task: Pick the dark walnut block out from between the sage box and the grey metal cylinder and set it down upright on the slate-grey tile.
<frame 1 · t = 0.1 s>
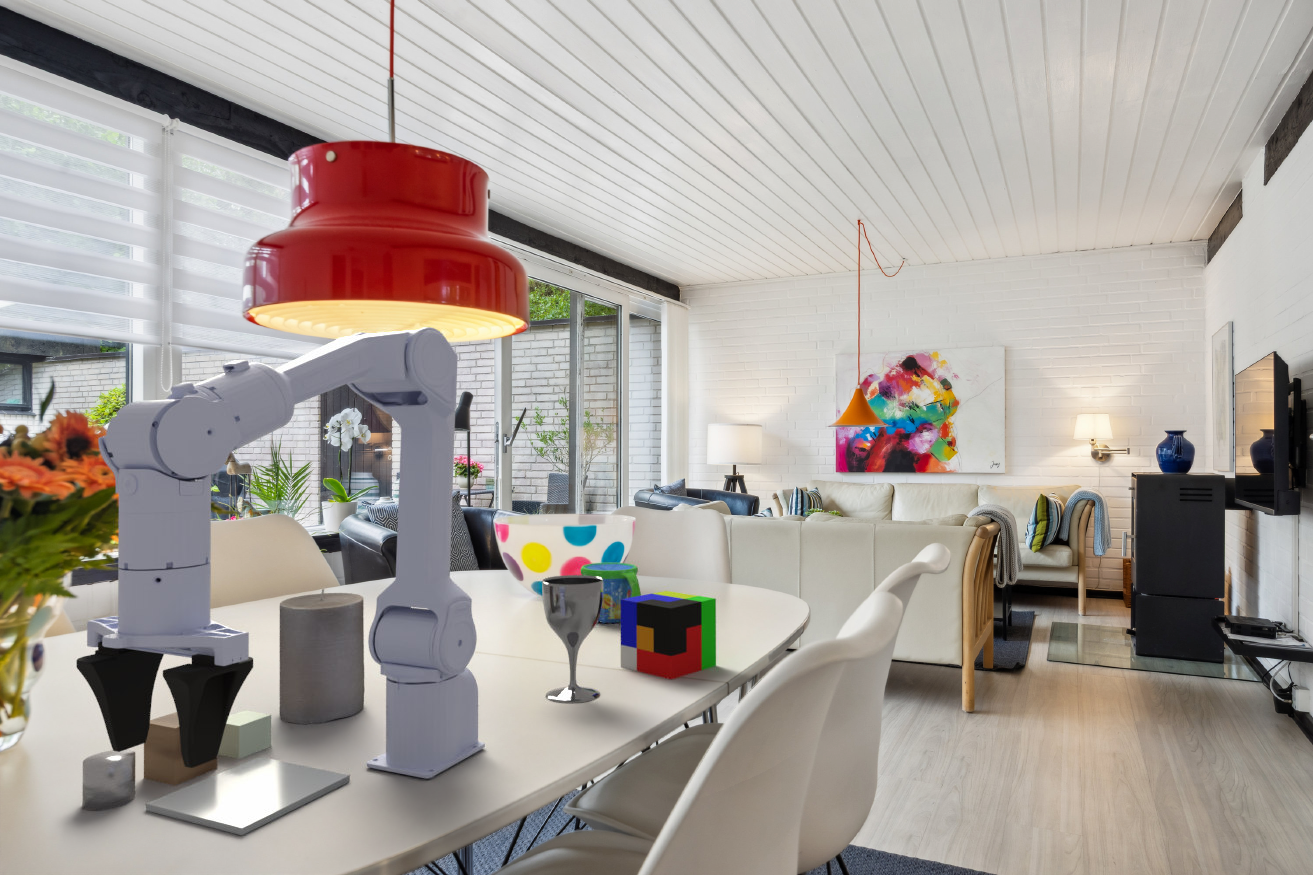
hand: (164, 754, 59), 10 cm above the table, tool pointing down, fingers open, 7 cm apart
wine glass: (573, 696, 106), on the table
puzzle toy: (668, 667, 120), on the table
walnut block: (180, 773, 81), on the table
sage box: (242, 750, 87), on the table
grey cylinder: (109, 801, 74), on the table
snack cup: (609, 621, 153), on the table
pillar candle: (322, 713, 100), on the table
slate tile: (251, 795, 75), on the table
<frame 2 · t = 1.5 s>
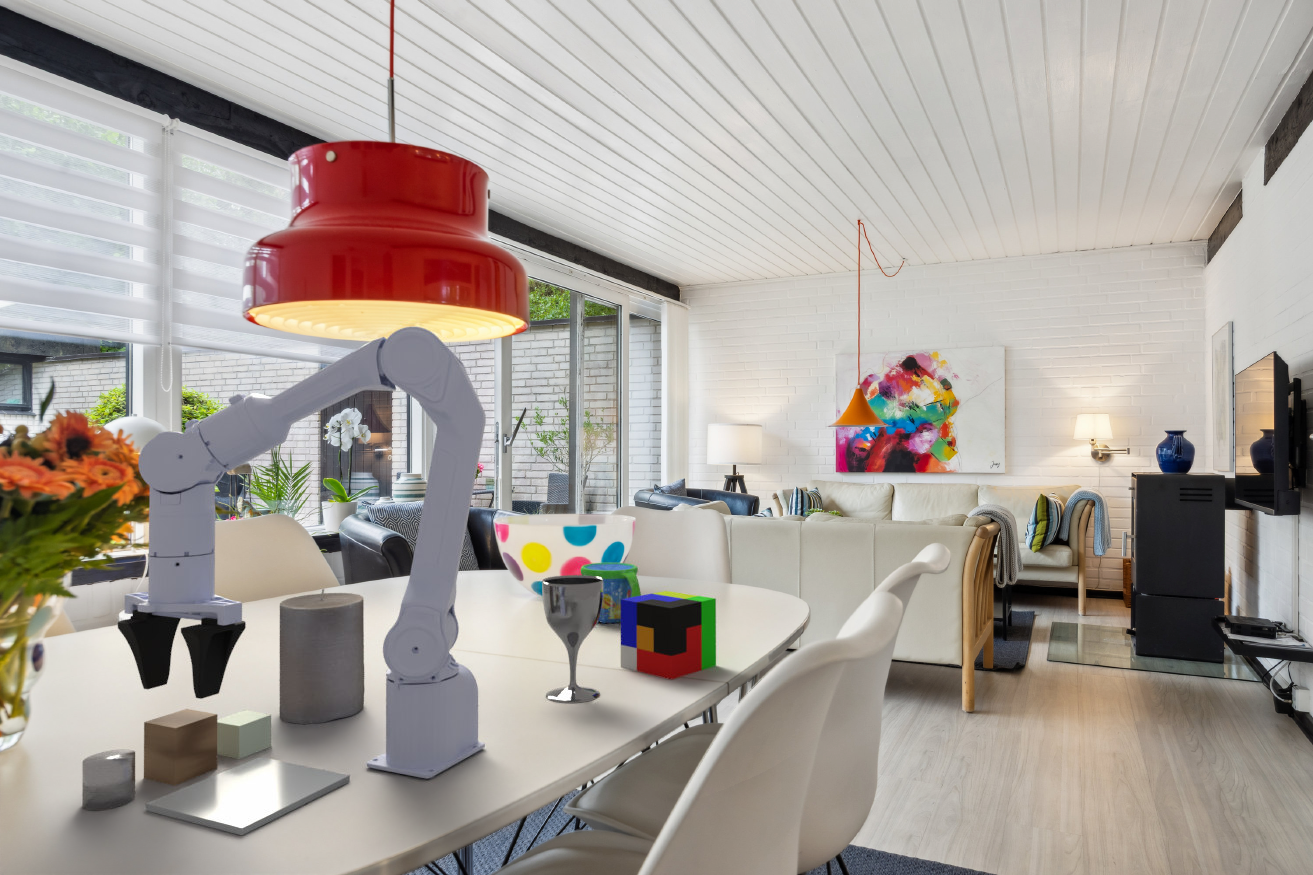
hand: (181, 690, 81), 8 cm above the table, tool pointing down, fingers open, 7 cm apart
nothing on the table moved.
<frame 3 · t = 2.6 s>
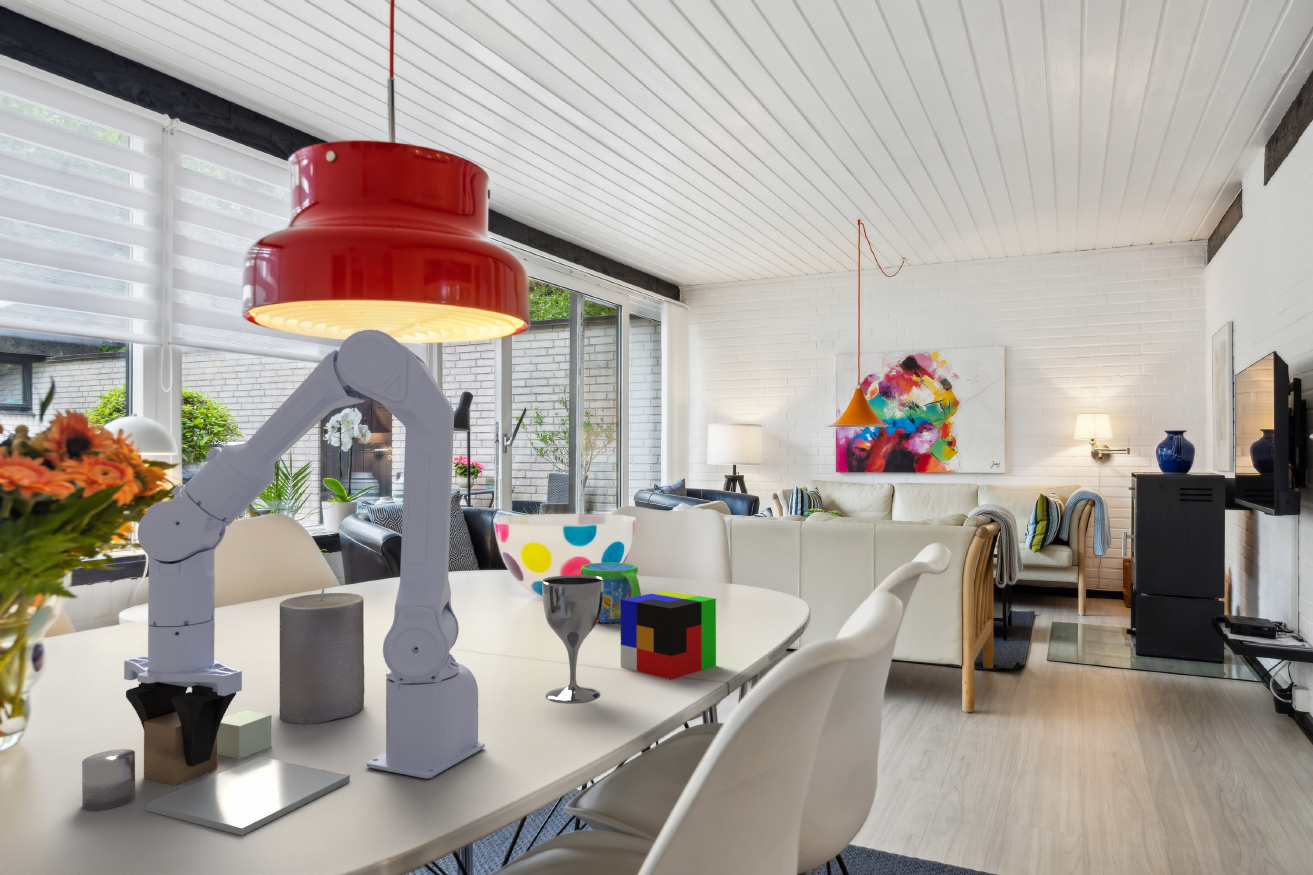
hand: (180, 758, 81), 1 cm above the table, tool pointing down, fingers closed on walnut block, 4 cm apart
walnut block: (180, 773, 81), on the table, touching gripper
everything else where it was.
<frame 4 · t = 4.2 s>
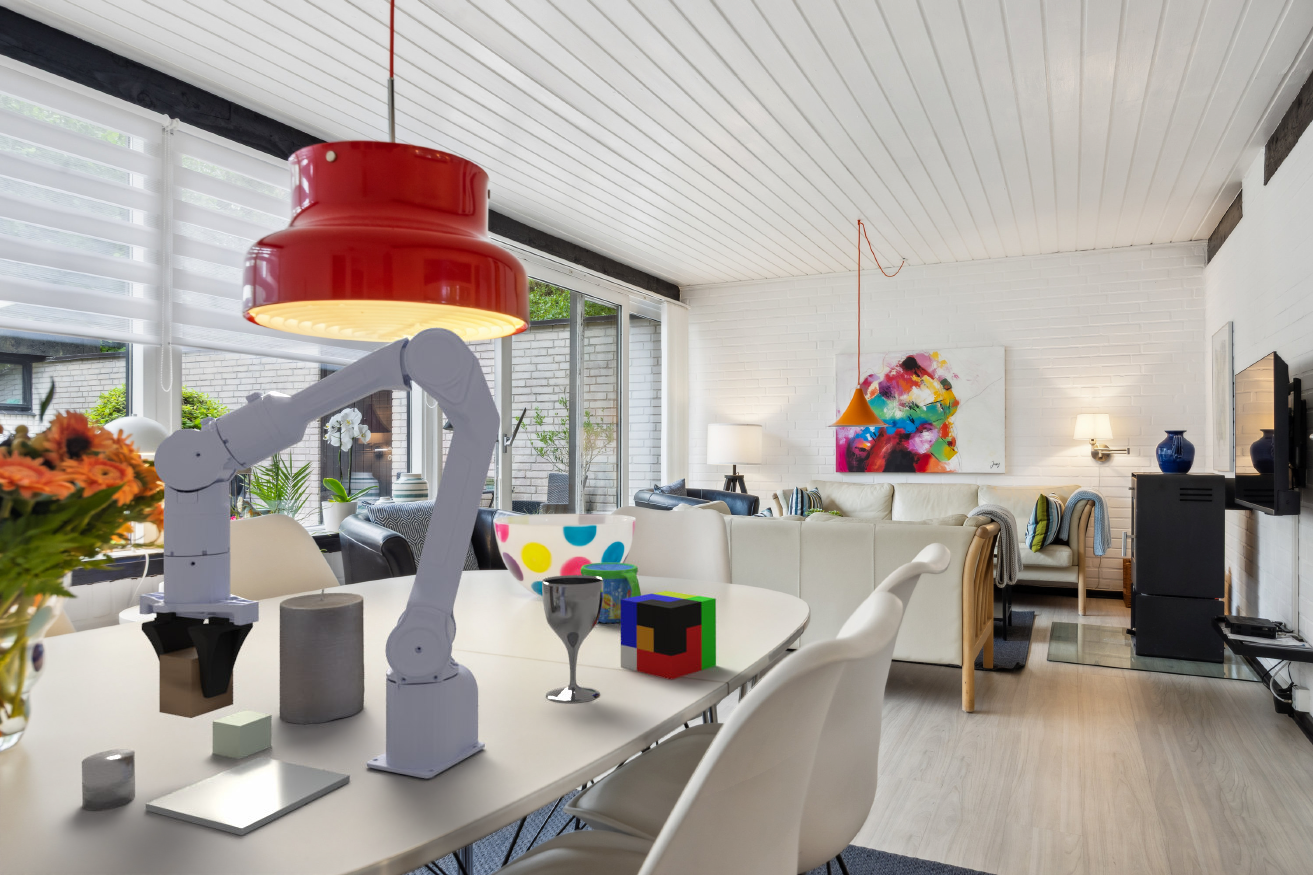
hand: (197, 692, 80), 8 cm above the table, tool pointing down, fingers closed on walnut block, 4 cm apart
walnut block: (196, 708, 80), point 7 cm above the table, touching gripper
everything else where it was.
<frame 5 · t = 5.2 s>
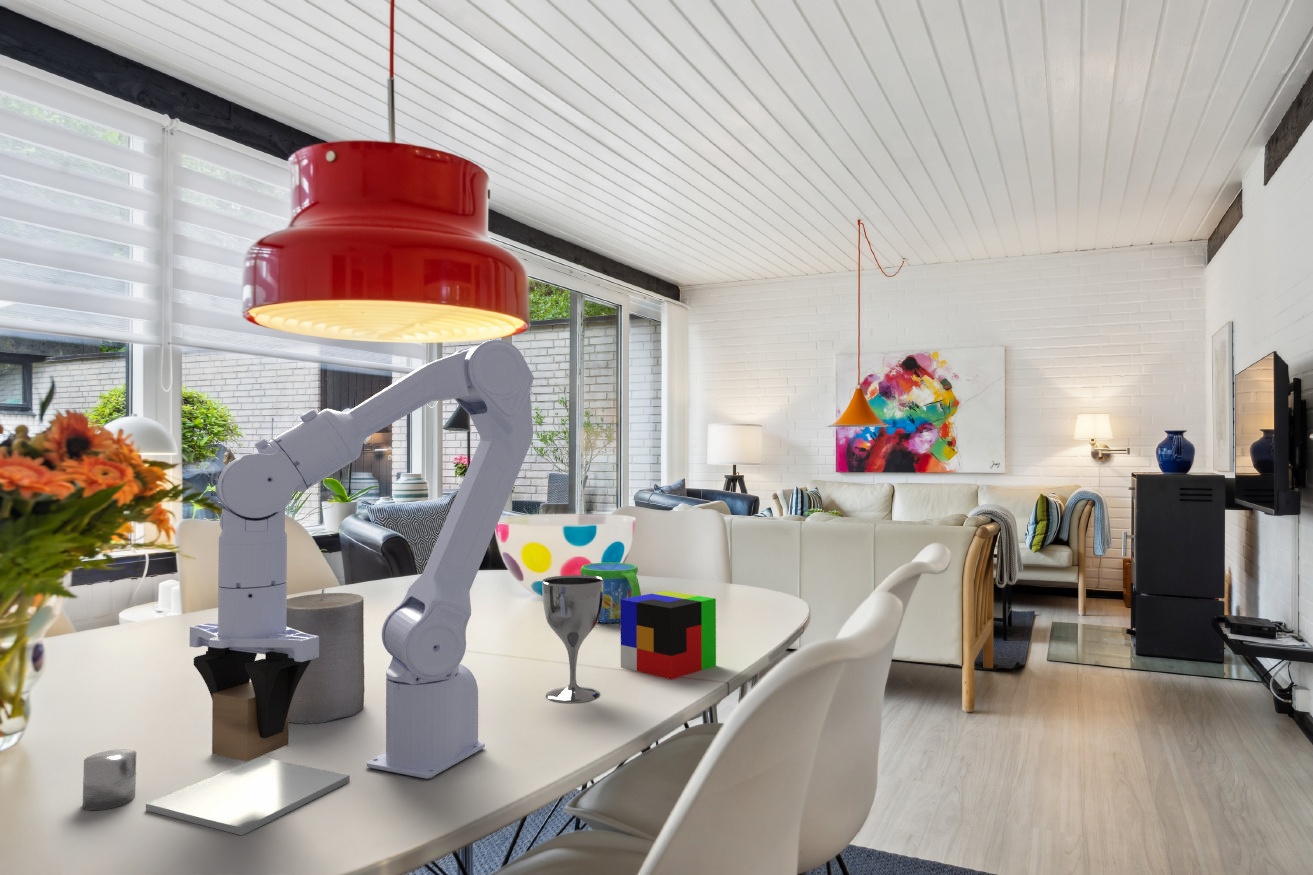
hand: (251, 730, 76), 6 cm above the table, tool pointing down, fingers closed on walnut block, 4 cm apart
walnut block: (250, 749, 75), point 4 cm above the table, touching gripper
everything else where it was.
when the fingers open (4 cm above the table, at t = 6.1 s): walnut block drops 1 cm, resting on slate tile.
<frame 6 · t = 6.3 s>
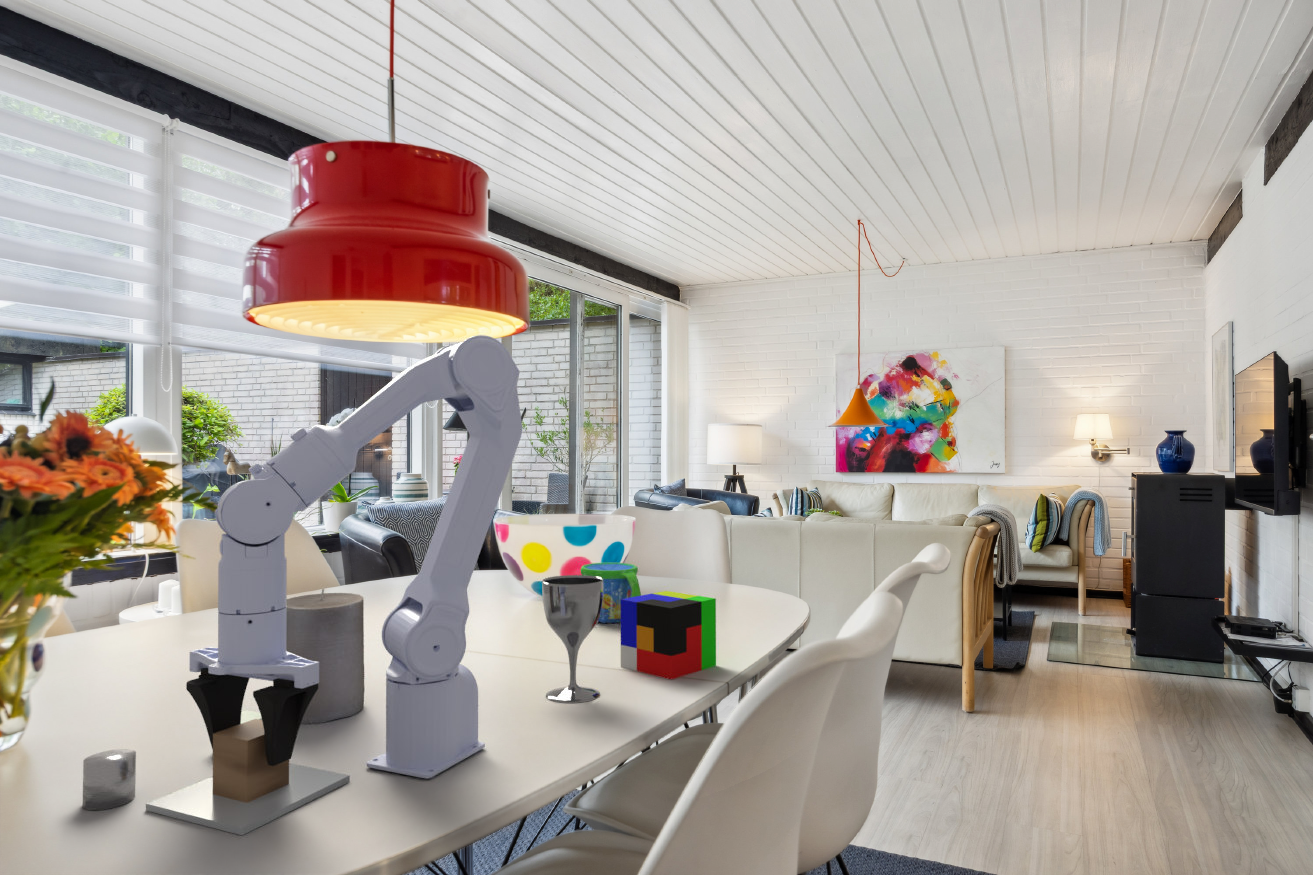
hand: (252, 755, 75), 4 cm above the table, tool pointing down, fingers open, 6 cm apart
walnut block: (251, 788, 75), point 1 cm above the table, touching slate tile
everything else where it was.
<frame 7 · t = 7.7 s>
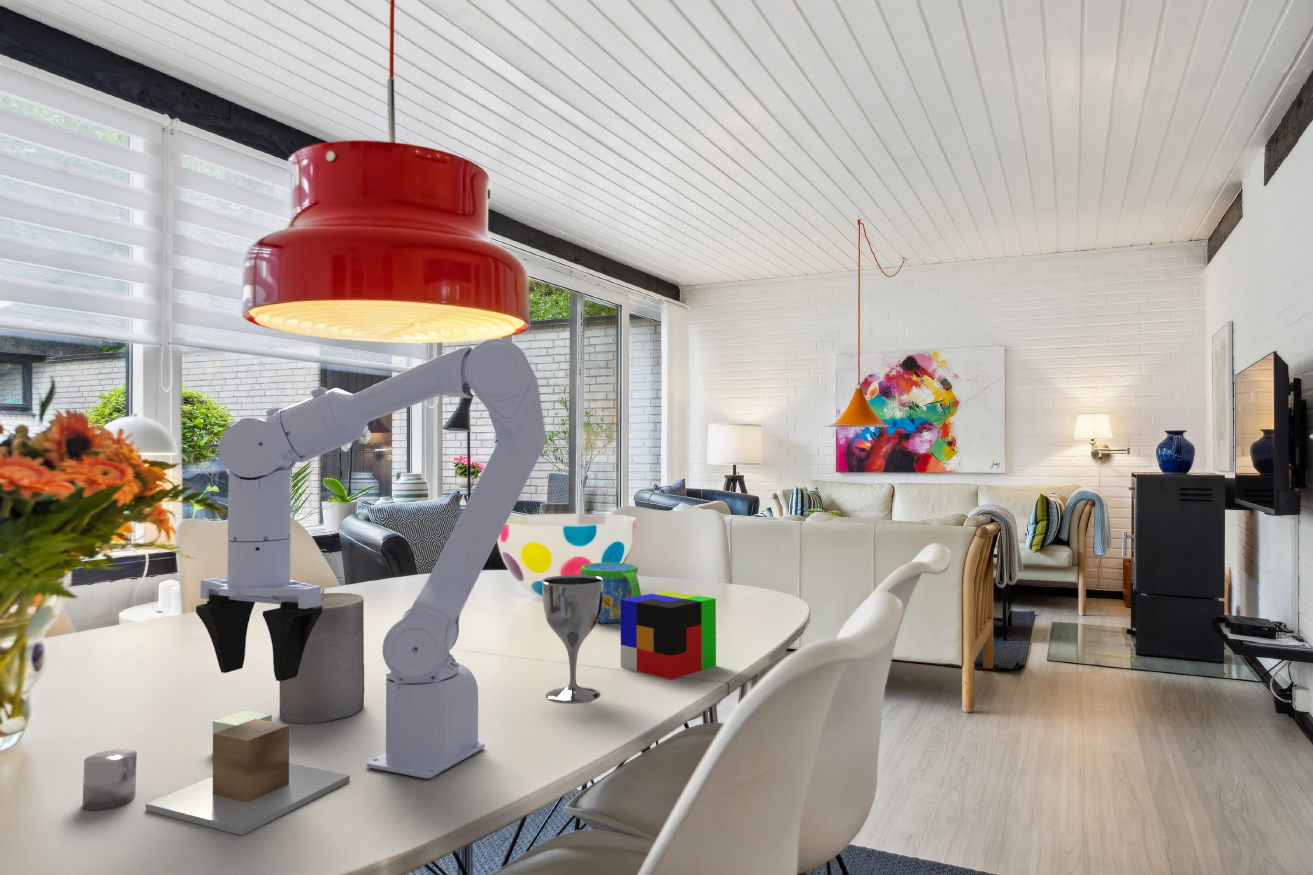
hand: (258, 674, 82), 9 cm above the table, tool pointing down, fingers open, 7 cm apart
nothing on the table moved.
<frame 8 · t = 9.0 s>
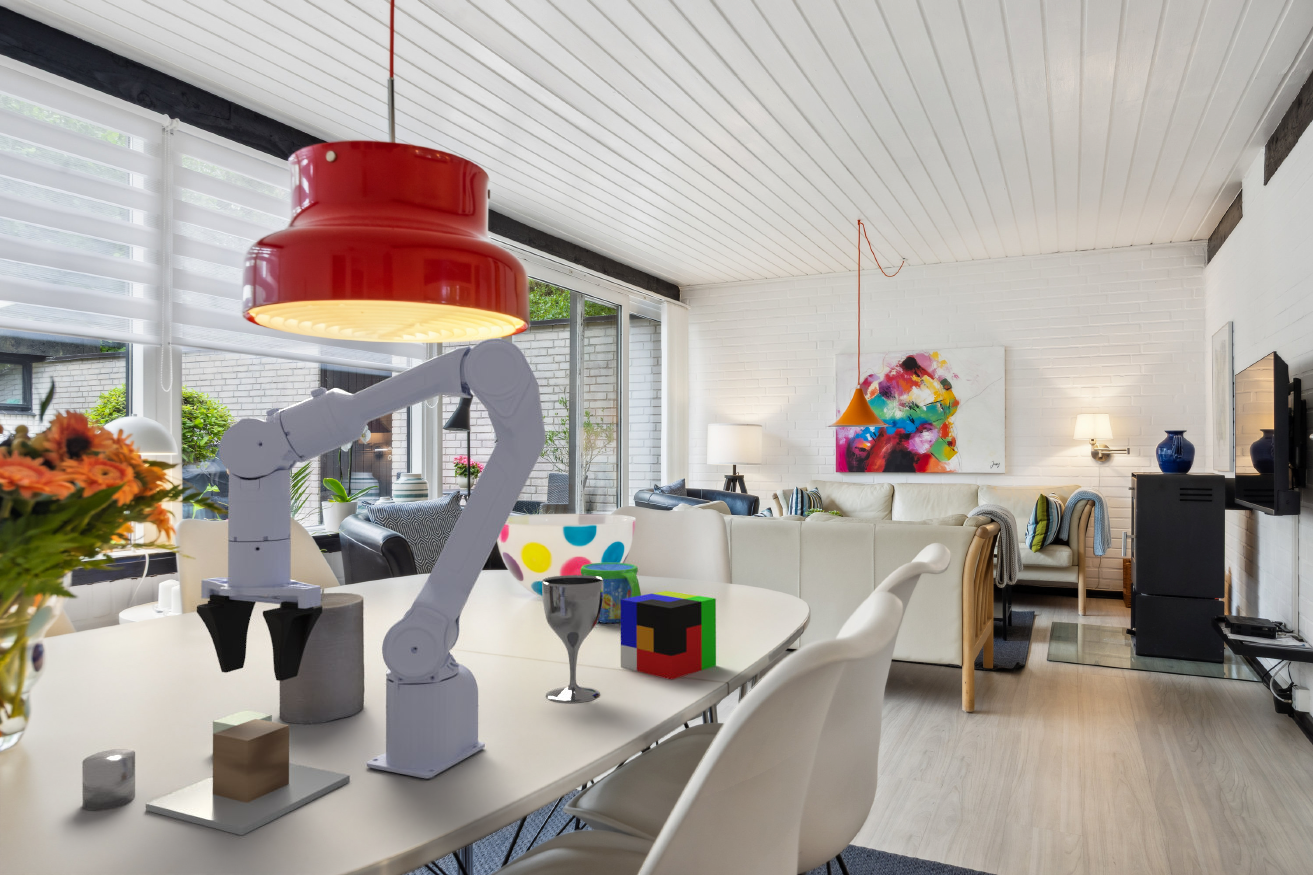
hand: (259, 673, 82), 9 cm above the table, tool pointing down, fingers open, 7 cm apart
nothing on the table moved.
at the end: walnut block inside the target area on the slate tile (0.1 cm from its centre), point 0.6 cm above the slate tile's base; walnut block tilted 0°; the gripper is holding nothing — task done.
